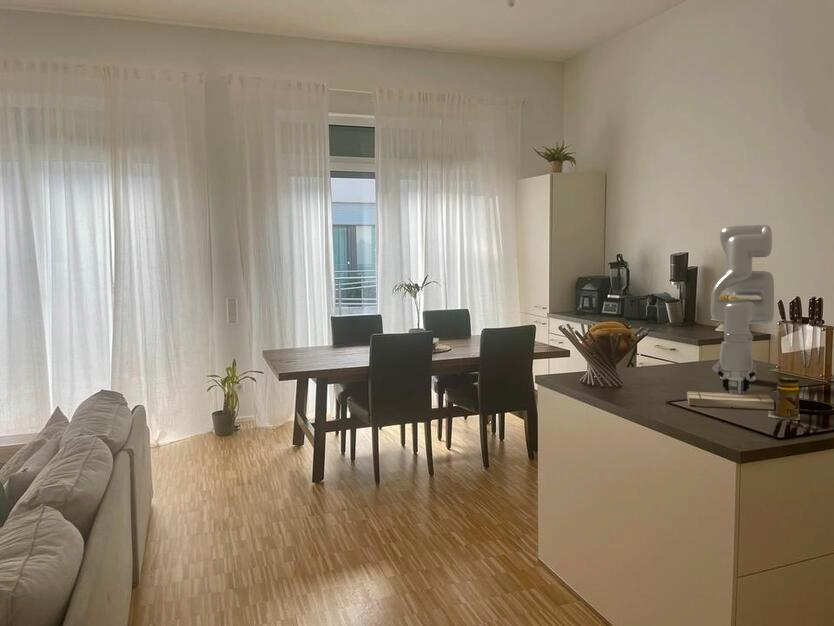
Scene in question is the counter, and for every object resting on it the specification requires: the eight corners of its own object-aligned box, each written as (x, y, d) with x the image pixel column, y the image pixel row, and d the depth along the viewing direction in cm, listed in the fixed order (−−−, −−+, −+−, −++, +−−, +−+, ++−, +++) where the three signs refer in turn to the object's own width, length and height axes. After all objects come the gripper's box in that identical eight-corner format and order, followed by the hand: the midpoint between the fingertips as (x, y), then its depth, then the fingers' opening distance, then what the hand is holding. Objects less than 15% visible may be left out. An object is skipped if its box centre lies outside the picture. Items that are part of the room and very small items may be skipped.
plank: (687, 398, 220) (687, 391, 219) (768, 402, 211) (768, 394, 211) (689, 405, 210) (689, 397, 210) (773, 409, 202) (774, 401, 202)
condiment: (800, 420, 189) (801, 381, 188) (768, 417, 193) (768, 379, 192) (799, 414, 195) (800, 376, 194) (768, 411, 200) (769, 374, 198)
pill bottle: (739, 393, 221) (739, 368, 220) (747, 396, 216) (747, 371, 215) (724, 394, 221) (724, 369, 220) (731, 397, 216) (732, 372, 215)
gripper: (762, 337, 217) (761, 389, 219) (708, 336, 223) (707, 386, 225) (766, 340, 210) (765, 394, 212) (710, 339, 216) (709, 391, 218)
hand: (735, 389), depth 219 cm, fingers closed on pill bottle, 5 cm apart
